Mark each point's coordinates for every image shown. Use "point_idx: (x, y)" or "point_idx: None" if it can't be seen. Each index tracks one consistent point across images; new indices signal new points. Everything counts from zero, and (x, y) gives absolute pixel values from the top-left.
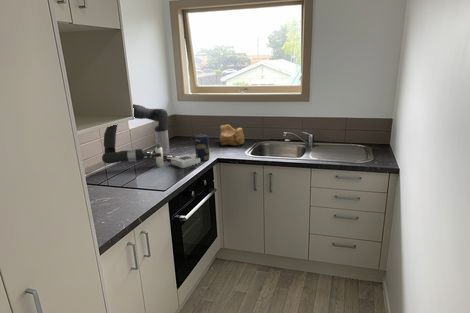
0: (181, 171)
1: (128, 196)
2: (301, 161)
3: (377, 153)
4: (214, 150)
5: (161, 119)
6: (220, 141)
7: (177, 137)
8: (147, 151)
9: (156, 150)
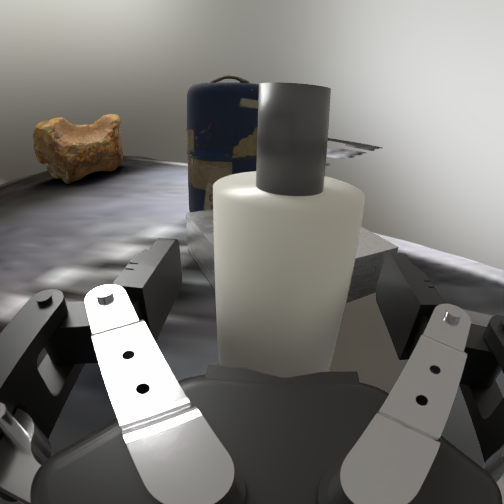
0: (448, 294)
1: None
2: (336, 155)
3: None
4: (111, 192)
5: None
6: (74, 167)
7: None
8: (229, 462)
9: (354, 241)
